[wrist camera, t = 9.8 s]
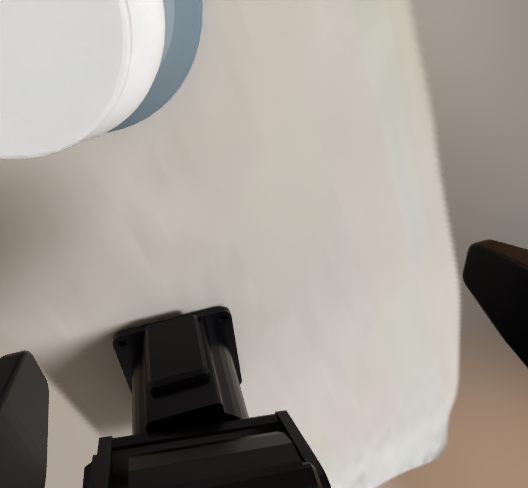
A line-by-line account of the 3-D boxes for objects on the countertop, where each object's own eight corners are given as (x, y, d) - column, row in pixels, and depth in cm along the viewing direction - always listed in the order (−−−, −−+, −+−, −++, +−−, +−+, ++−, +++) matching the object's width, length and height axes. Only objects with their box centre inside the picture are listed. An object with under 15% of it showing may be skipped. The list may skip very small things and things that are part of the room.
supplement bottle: (-61, 11, 13) (-378, 47, 5) (24, -157, 12) (-221, -495, 4) (100, 117, 16) (69, 251, 8) (183, -9, 14) (251, -7, 6)
